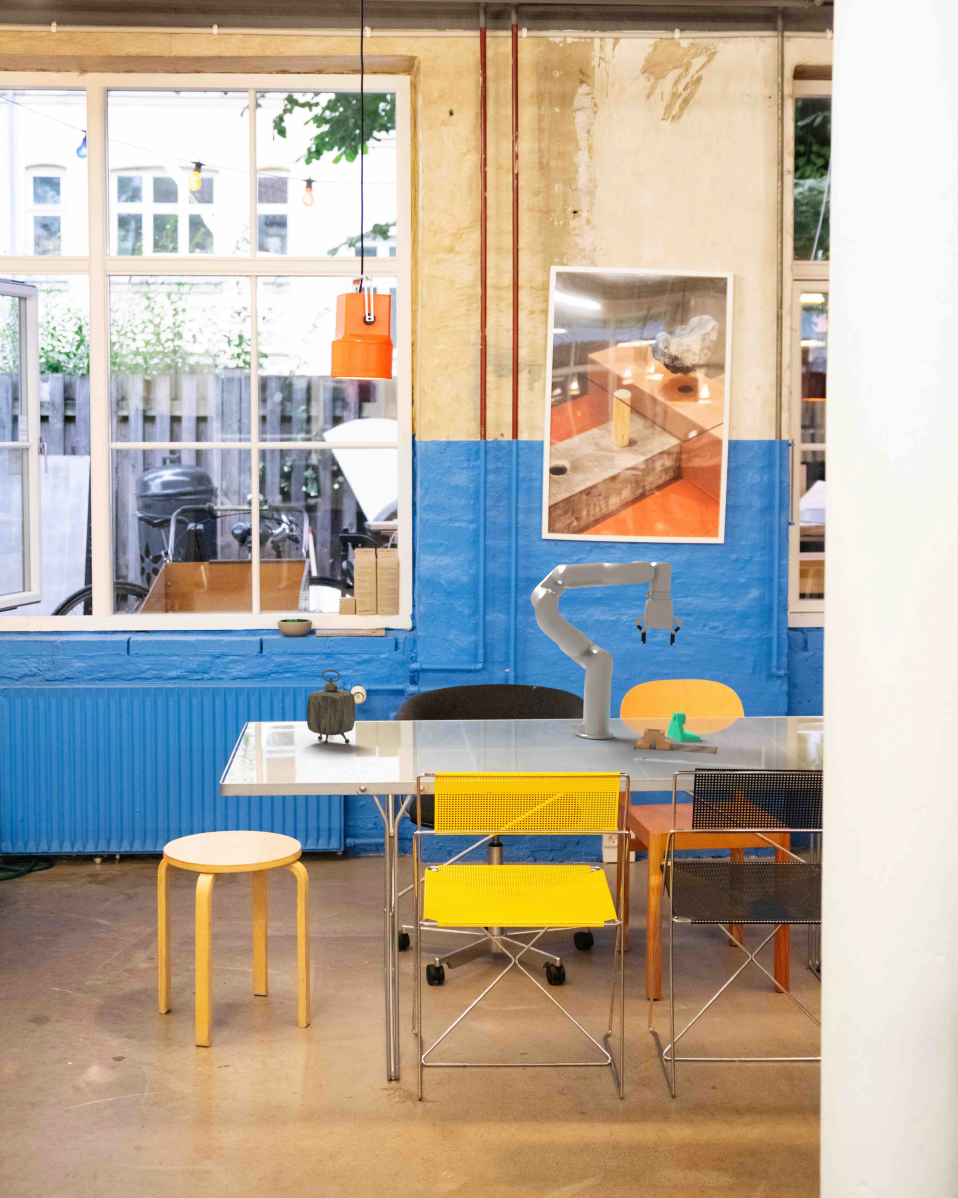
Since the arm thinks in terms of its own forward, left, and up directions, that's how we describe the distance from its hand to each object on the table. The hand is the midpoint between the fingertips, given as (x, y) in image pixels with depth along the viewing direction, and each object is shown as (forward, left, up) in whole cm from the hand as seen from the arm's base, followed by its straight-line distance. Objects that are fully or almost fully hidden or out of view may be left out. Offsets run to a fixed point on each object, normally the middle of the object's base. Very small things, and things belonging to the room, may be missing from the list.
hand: (657, 644), depth 410 cm
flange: (+2, -23, -32) cm, 40 cm away
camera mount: (+11, -4, -34) cm, 36 cm away
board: (+9, -23, -33) cm, 42 cm away
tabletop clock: (-103, -55, -34) cm, 121 cm away
